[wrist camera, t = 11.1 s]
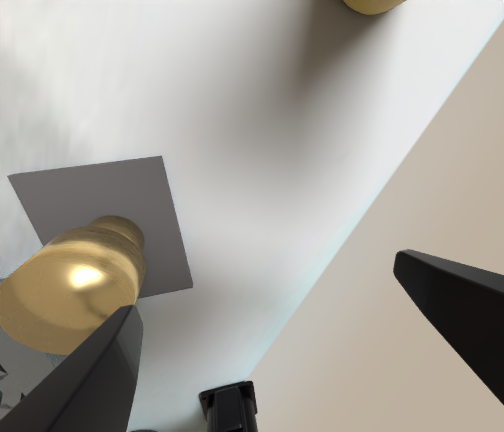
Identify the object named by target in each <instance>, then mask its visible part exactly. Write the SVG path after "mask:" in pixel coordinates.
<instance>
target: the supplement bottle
mask: <svg viewBox="0 0 504 432" xmlns="http://www.w3.org/2000/svg"><path fill="white" fill-rule="evenodd" d="M134 432H157V431H153V430H139V431H134Z"/></svg>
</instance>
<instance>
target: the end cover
mask: <svg viewBox="0 0 504 432" xmlns="http://www.w3.org/2000/svg"><path fill="white" fill-rule="evenodd" d="M144 244H145V240H144V235H143V233H142V231H141V230H140V228H139V227H138V226H137V225H136V224H135V223H134V222H132V221H131V220H129V219H127V218H124V217H121V216H115V215H107V216H102V217H99V218H97V219H95V220H93V221H92V222H91V223H90V224H88V225H87V226H84V227H77V228H72V229H69V230H67V231H65V232H62V233H61V234H59V235H58V236H56V237H55V238H54V239H52V240H51V241H50V242H49V243H48V244H47V245H45V246H44V247H43V248H42V249H41V250H39V251H38V252H37V253H36V254H35V255H34V256H32V257H31V258H30V259H29V260H28V261H26V262H25V263H24V264H23V265H22V266H21V267H19V268H18V269H17V270H16V271H15V272H13V273H12V274H11V275H10V276H9V277H8V278H6V279H5V280H4V281H3V282H2V283H1V285H0V326H1V328H2V329H3V330H4V331H5V332H6V333H7V334H8V335H9V336H10V337H12V338H13V339H14V340H16V341H17V342H19V343H21V344H23V345H25V346H27V347H29V348H32V349H34V350H37V351H41V352H45V353H50V354H58V355H69V354H71V353H72V352H73V351H74V350H75V349H76V348H77V347H78V346H79V345H80V344H81V343H82V342H83V341H84V340H85V339H86V338H87V337H89V336H90V335H91V334H92V333H93V332H94V331H95V330H96V329H97V328H98V327H99V326H100V325H101V324H102V323H103V322H104V321H105V320H107V319H108V318H109V317H110V316H111V315H112V314H113V313H114V312H115V311H116V310H117V309H118V308H120V307H122V306H127V305H135V303H136V300H137V297H138V294H139V291H140V288H141V286H142V283H143V280H144V277H145V272H146V265H145V260H144V257H143V255H142V251H143V249H144Z"/></svg>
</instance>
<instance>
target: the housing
mask: <svg viewBox="0 0 504 432" xmlns="http://www.w3.org/2000/svg"><path fill="white" fill-rule="evenodd" d="M4 280H5V279H1V280H0V285H1V283H2V282H3V281H4ZM67 356H68V355H58V354H50V353H45V352H41V351H37V350H34V349H32V348H29V347H27V346H25V345H23V344H21V343H19V342H17V341H16V340H14V339H13V338H12V337H10V336H9V335H8V334H7V333H6V332H5V331H4V330H3V329H2V328H1V326H0V420H1V419H2V418H3V417H4V416H5V415H6V414H7V413H8V412H9V411H10V410H11V409H12V408H13V407H14V406H16V405H17V404H18V403H19V402H20V401H21V400H22V399H23V398H24V397H25V396H26V395H27V394H28V393H29V392H30V391H31V390H32V389H34V388H35V387H36V386H37V385H38V384H39V383H40V382H41V381H42V380H43V379H44V378H45V377H46V376H47V375H48V374H49V373H50V372H52V371H53V370H54V369H55V368H56V367H57V366H58V365H59V364H60V363H61V362H62V361H63V360H64V359H65V358H66V357H67Z"/></svg>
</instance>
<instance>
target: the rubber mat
mask: <svg viewBox="0 0 504 432" xmlns="http://www.w3.org/2000/svg"><path fill="white" fill-rule="evenodd" d="M7 177H8V179H9V181H10V182H11V184H12V186H13V188H14V190H15V192H16V194H17V196H18V198H19V200H20V202H21V204H22V206H23V208H24V210H25V211H26V213H27V215H28V217H29V219H30V221H31V223H32V225H33V227H34V229H35V231H36V233H37V235H38V237H39V239H40V241H41V242H42V244H43V246H45V245H47V244H48V243H49V242H50V241H51V240H52V239H54V238H55V237H56V236H58V235H59V234H61V233H62V232H65V231H67V230H69V229H72V228H77V227H84V226H87V225H88V224H90V223H91V222H92V221H93V220H95V219H97V218H99V217H102V216H107V215H115V216H121V217H124V218H127V219H129V220H131V221H132V222H134V223H135V224H136V225H137V226H138V227H139V228H140V230H141V231H142V233H143V235H144V240H145V244H144V249H143V251H142V255H143V257H144V260H145V265H146V272H145V277H144V280H143V283H142V286H141V288H140V291H139V294H138V297H137V299H138V298H143V297H148V296H153V295H158V294H163V293H168V292H173V291H178V290H183V289H188V288H193V282H192V278H191V274H190V270H189V266H188V262H187V258H186V254H185V249H184V245H183V241H182V237H181V233H180V229H179V225H178V221H177V217H176V212H175V208H174V204H173V200H172V196H171V192H170V188H169V184H168V180H167V176H166V171H165V167H164V163H163V159H162V156H156V157H148V158H140V159H132V160H124V161H116V162H108V163H100V164H92V165H84V166H75V167H67V168H59V169H51V170H43V171H35V172H27V173H19V174H13V175H9V176H7Z"/></svg>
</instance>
